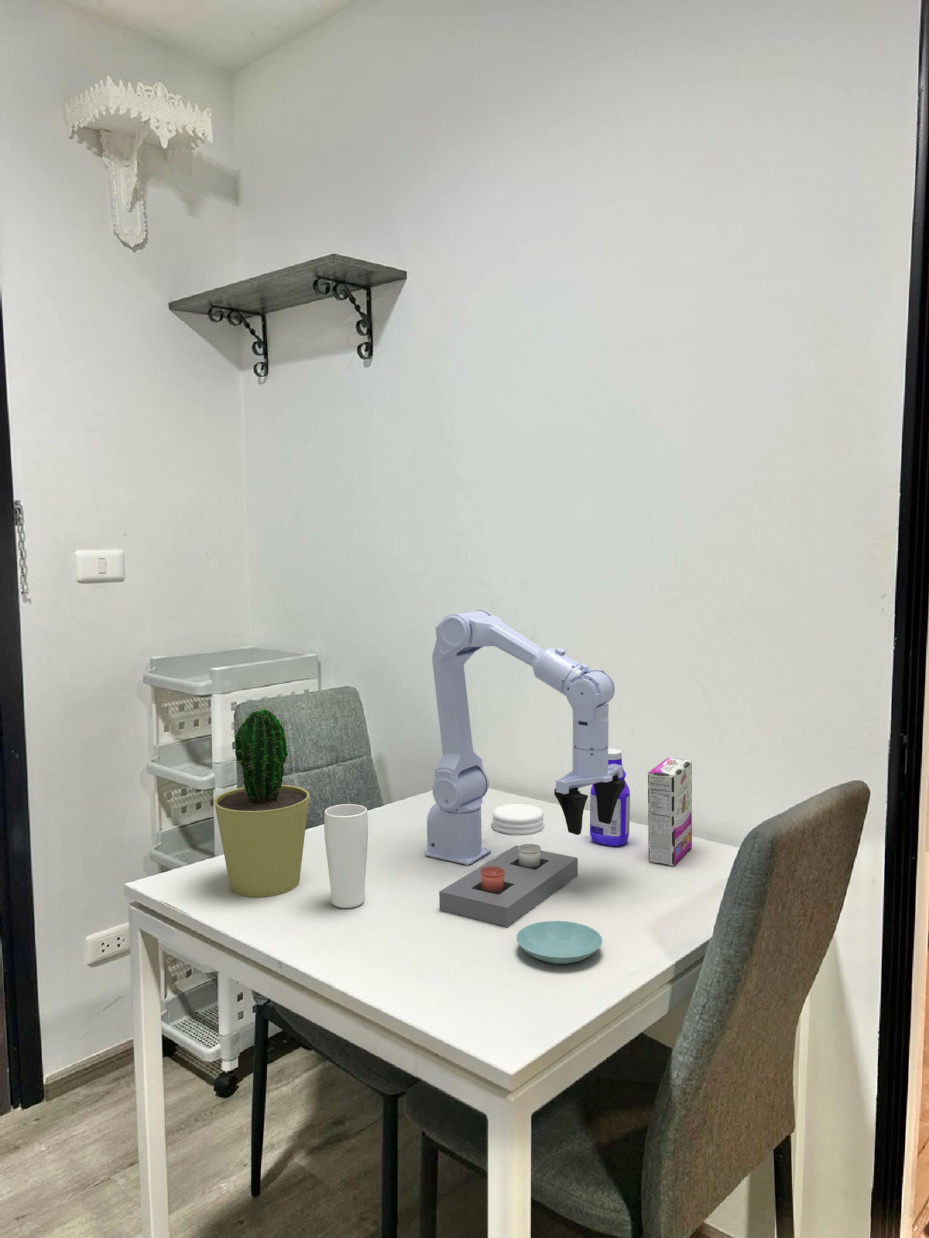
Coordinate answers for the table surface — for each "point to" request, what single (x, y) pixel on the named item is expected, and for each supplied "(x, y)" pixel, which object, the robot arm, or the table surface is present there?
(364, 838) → the drinking glass
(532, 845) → the sample container
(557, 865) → the console
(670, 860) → the candy bar box
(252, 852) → the potted cactus
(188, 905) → the table surface
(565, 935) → the saucer
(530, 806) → the white ridged round container
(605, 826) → the bottle
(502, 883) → the red button
